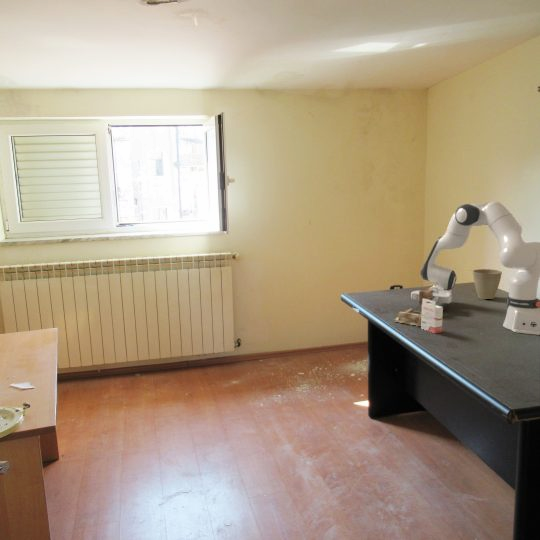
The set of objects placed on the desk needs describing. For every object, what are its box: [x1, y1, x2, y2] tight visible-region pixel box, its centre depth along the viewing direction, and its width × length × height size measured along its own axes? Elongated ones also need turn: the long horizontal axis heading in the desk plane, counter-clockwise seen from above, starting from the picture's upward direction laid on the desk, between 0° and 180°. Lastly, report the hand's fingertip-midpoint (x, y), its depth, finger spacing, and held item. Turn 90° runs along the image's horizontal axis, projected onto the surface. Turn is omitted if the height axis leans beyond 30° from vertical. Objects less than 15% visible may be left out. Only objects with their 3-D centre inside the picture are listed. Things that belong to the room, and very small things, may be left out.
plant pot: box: [472, 268, 502, 300], centre depth 268 cm, size 15×15×16 cm
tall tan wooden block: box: [418, 288, 433, 312], centre depth 241 cm, size 5×7×12 cm, turn 143°
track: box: [393, 308, 422, 327], centre depth 230 cm, size 14×15×6 cm
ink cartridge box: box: [420, 298, 444, 334], centre depth 214 cm, size 9×5×15 cm, turn 27°
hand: (426, 299), depth 241 cm, fingers closed on tall tan wooden block, 4 cm apart
